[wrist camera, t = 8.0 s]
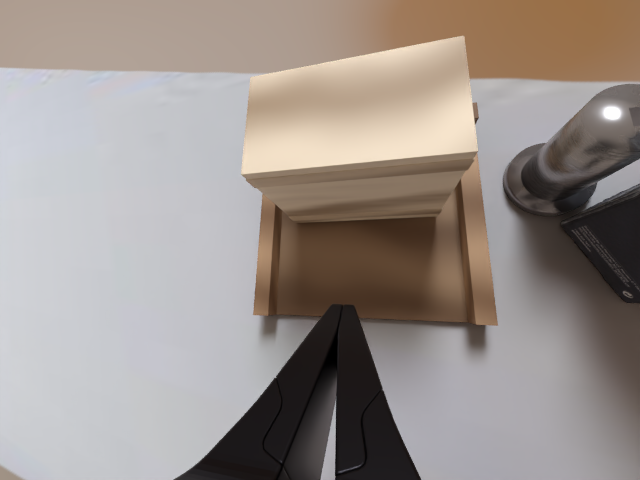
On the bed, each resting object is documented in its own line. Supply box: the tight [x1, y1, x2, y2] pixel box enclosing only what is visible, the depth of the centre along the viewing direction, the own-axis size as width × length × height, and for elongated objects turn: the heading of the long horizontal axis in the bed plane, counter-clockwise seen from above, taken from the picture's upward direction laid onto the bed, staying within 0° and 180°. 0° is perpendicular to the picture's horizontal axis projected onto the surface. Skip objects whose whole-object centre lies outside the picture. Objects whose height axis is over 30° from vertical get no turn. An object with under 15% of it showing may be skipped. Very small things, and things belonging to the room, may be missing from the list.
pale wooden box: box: [241, 36, 478, 223], centre depth 17 cm, size 6×11×9 cm, turn 89°
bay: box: [253, 103, 498, 326], centre depth 20 cm, size 15×16×3 cm
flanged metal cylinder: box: [503, 84, 640, 216], centre depth 14 cm, size 5×8×9 cm
